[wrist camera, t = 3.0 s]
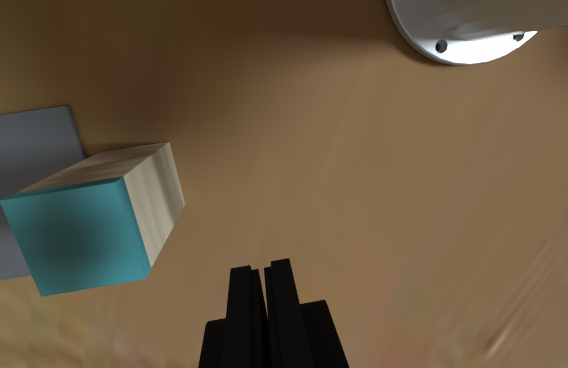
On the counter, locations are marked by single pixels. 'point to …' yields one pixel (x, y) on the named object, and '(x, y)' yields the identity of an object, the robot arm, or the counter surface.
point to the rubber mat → (32, 166)
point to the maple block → (97, 219)
